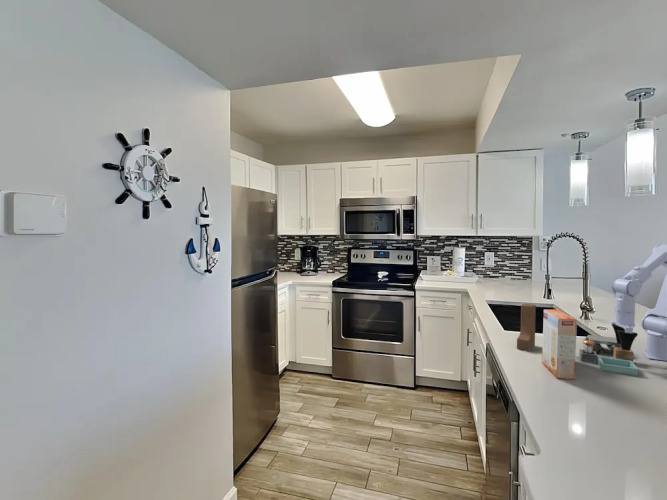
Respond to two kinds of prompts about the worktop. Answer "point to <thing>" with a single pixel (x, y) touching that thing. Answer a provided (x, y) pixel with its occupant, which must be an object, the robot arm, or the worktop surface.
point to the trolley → (599, 340)
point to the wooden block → (527, 327)
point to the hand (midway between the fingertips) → (623, 346)
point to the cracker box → (559, 343)
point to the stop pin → (588, 346)
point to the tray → (617, 366)
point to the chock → (622, 354)
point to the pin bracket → (588, 356)
